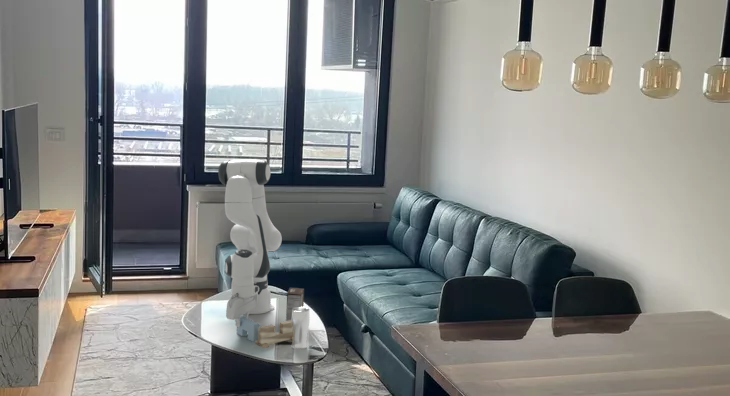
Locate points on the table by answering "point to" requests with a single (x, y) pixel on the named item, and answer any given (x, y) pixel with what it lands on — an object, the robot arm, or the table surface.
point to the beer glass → (300, 327)
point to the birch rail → (274, 334)
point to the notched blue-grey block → (248, 328)
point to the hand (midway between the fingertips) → (241, 324)
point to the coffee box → (294, 300)
